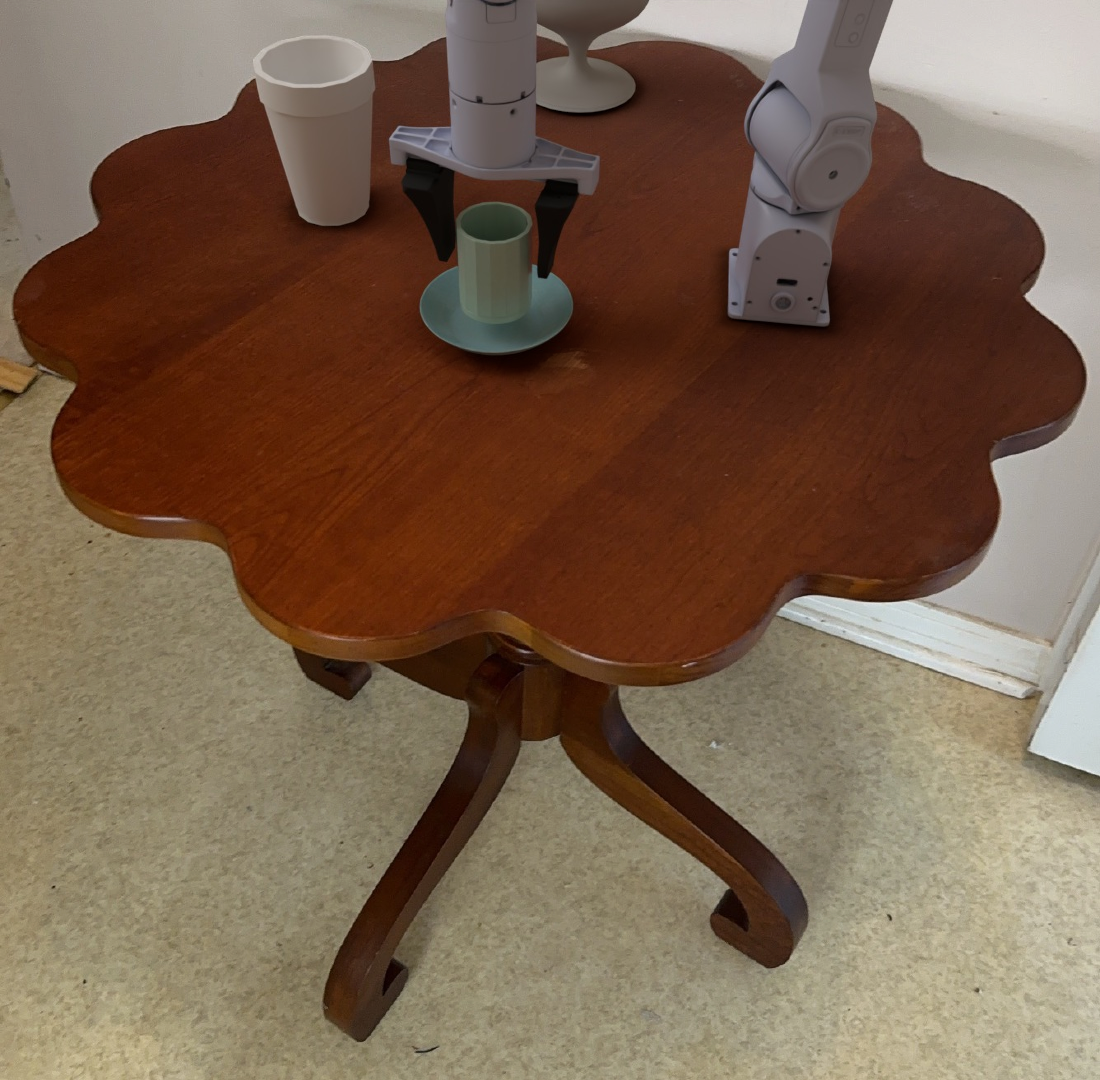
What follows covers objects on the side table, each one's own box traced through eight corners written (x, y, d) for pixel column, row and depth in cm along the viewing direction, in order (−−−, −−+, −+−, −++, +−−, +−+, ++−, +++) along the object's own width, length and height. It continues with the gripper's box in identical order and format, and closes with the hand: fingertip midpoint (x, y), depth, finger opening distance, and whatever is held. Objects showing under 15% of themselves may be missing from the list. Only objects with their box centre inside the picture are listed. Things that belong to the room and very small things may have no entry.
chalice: (496, 63, 116) (494, -92, 105) (622, 52, 119) (633, -100, 108) (525, 127, 107) (526, -35, 96) (661, 113, 110) (677, -46, 98)
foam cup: (331, 168, 101) (311, 25, 92) (408, 200, 98) (395, 55, 88) (256, 212, 96) (227, 65, 86) (335, 248, 92) (313, 99, 83)
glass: (539, 288, 85) (540, 208, 80) (520, 329, 82) (520, 248, 77) (472, 276, 86) (469, 196, 81) (450, 317, 83) (445, 236, 77)
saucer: (519, 394, 80) (519, 370, 79) (390, 339, 84) (388, 315, 83) (599, 313, 87) (601, 289, 85) (477, 266, 91) (476, 242, 89)
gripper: (614, 72, 73) (602, 249, 83) (408, 43, 75) (421, 219, 85) (589, 121, 68) (580, 302, 78) (371, 89, 70) (389, 269, 81)
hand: (495, 262), depth 81 cm, fingers open, 7 cm apart
